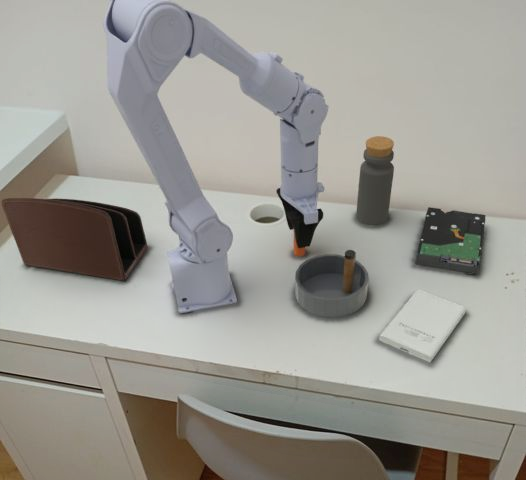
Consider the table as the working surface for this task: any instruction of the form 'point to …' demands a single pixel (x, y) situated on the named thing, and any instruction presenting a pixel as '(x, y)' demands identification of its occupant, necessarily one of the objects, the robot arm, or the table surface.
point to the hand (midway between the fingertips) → (299, 236)
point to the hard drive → (423, 325)
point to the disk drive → (451, 241)
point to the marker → (298, 249)
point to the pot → (329, 286)
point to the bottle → (375, 181)
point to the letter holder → (76, 235)
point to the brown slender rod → (348, 271)
